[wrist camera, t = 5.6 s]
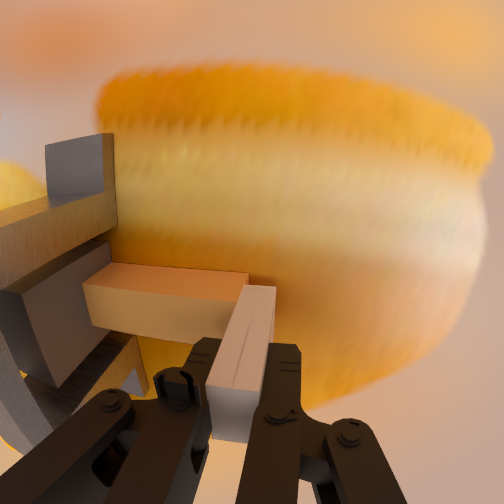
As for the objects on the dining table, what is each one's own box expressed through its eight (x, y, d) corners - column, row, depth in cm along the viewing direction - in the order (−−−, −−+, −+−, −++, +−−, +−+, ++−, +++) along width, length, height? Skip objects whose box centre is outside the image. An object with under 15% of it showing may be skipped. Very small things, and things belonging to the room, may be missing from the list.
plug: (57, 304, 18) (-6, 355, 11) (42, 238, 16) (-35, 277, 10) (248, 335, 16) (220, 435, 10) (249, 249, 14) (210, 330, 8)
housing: (100, 375, 20) (29, 469, 10) (55, 144, 14) (-97, 172, 4) (149, 388, 19) (84, 502, 9) (113, 133, 13) (-71, 150, 4)
